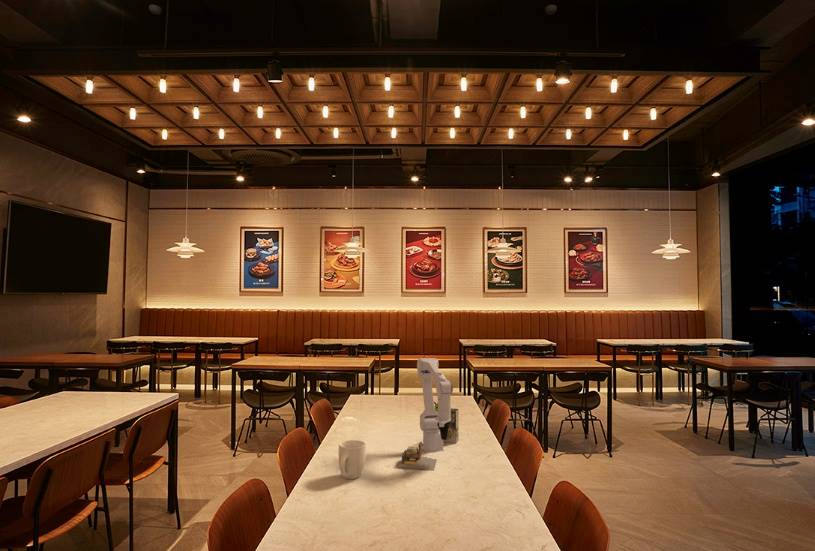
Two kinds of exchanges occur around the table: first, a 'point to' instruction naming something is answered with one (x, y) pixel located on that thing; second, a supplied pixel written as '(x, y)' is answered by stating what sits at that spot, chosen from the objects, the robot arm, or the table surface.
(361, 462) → the mug
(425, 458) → the dock
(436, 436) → the robot arm
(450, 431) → the coffee box
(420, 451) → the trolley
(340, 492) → the table surface
